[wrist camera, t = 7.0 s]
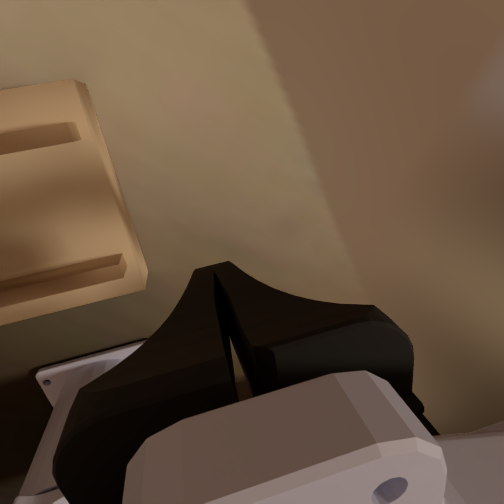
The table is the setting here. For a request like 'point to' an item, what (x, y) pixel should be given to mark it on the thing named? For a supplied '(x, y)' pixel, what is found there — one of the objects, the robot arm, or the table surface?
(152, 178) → the table surface
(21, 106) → the channel board
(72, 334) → the table surface
